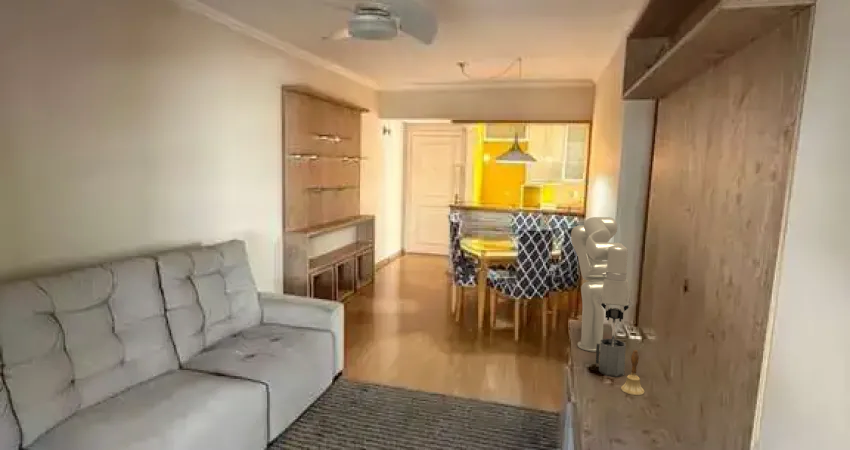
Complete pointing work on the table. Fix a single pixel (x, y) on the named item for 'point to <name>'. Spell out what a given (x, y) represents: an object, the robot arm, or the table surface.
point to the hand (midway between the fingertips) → (614, 319)
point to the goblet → (613, 314)
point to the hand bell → (633, 378)
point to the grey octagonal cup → (611, 358)
